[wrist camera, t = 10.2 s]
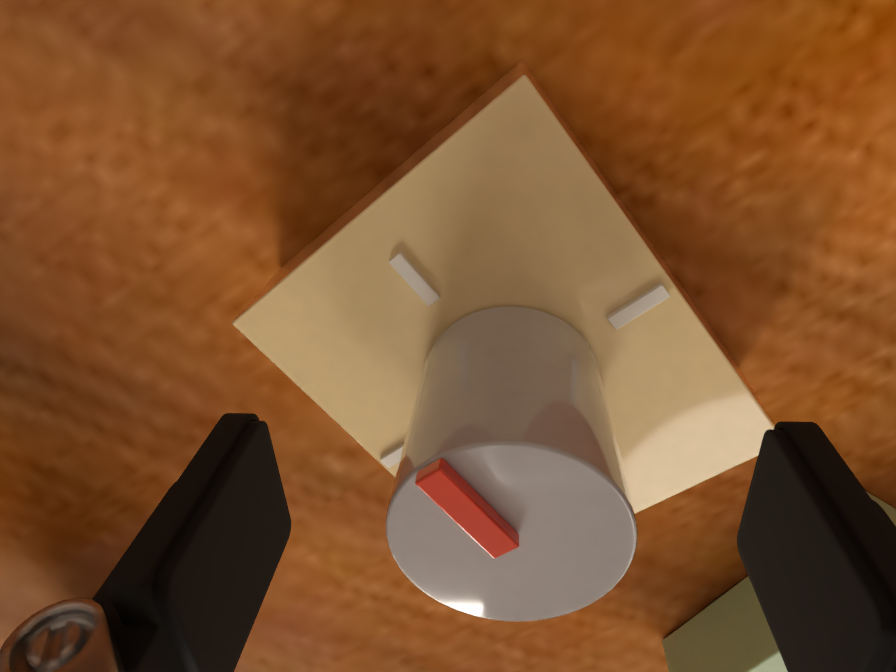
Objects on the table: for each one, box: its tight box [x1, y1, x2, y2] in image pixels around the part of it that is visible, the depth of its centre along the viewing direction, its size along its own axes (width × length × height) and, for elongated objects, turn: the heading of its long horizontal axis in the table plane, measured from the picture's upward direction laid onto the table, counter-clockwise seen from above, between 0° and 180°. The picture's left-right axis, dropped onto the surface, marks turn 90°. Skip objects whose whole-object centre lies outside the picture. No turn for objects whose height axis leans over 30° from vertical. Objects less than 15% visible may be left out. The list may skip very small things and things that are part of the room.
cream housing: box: [232, 61, 775, 514], centre depth 16 cm, size 11×9×4 cm
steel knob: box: [386, 306, 637, 622], centre depth 13 cm, size 4×4×5 cm
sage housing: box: [662, 492, 896, 672], centre depth 22 cm, size 11×10×3 cm
